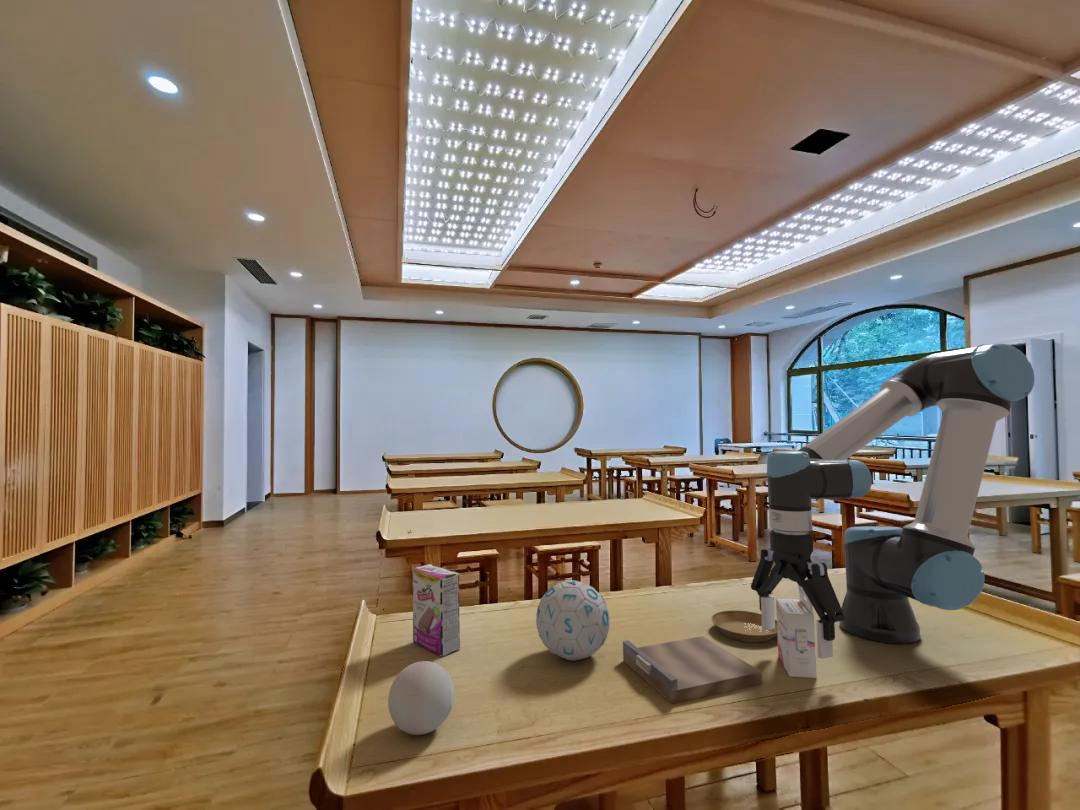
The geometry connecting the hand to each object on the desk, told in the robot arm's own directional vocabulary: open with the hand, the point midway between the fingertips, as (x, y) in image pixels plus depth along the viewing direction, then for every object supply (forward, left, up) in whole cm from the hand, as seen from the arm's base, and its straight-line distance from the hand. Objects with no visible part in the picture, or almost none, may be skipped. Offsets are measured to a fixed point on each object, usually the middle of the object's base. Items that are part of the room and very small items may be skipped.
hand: (795, 642), depth 97 cm
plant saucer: (-3, -17, -5) cm, 18 cm away
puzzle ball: (+38, -20, -5) cm, 43 cm away
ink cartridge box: (0, 0, -5) cm, 5 cm away
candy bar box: (+64, -35, -5) cm, 73 cm away
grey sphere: (+70, -5, -5) cm, 70 cm away
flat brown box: (+20, -6, -5) cm, 21 cm away
